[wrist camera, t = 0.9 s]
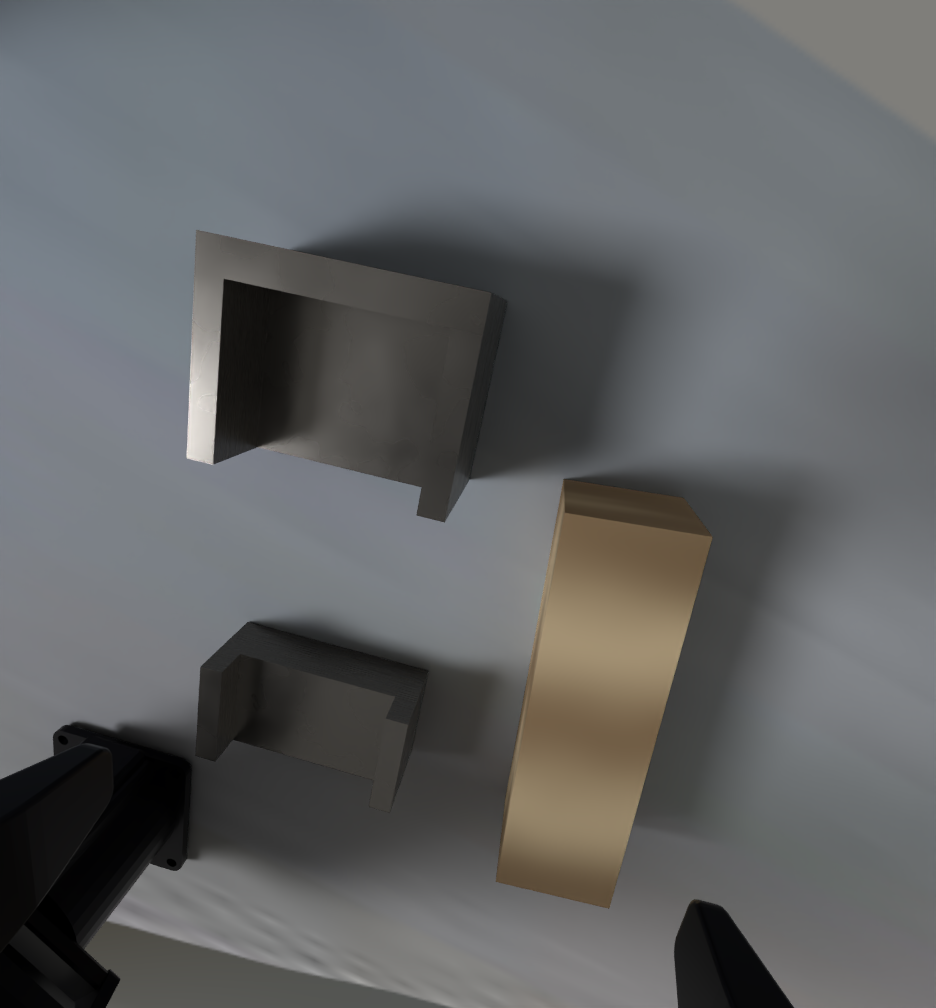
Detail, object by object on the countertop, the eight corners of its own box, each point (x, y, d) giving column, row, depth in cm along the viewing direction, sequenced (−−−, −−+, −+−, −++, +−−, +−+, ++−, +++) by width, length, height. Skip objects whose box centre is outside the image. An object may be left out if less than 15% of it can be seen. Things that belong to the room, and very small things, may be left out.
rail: (601, 815, 23) (609, 908, 20) (505, 794, 24) (495, 881, 20) (682, 495, 19) (712, 536, 15) (563, 476, 19) (564, 512, 16)
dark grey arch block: (411, 750, 24) (389, 813, 20) (240, 702, 24) (195, 755, 21) (428, 670, 22) (407, 725, 19) (247, 622, 23) (200, 666, 20)
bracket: (469, 480, 20) (444, 521, 15) (264, 430, 20) (186, 458, 16) (507, 301, 18) (491, 292, 14) (279, 252, 18) (196, 229, 14)
